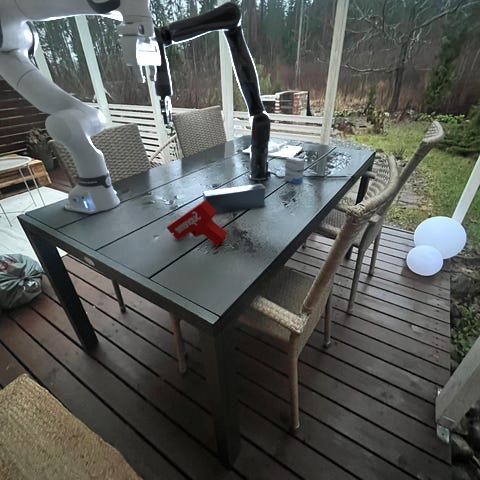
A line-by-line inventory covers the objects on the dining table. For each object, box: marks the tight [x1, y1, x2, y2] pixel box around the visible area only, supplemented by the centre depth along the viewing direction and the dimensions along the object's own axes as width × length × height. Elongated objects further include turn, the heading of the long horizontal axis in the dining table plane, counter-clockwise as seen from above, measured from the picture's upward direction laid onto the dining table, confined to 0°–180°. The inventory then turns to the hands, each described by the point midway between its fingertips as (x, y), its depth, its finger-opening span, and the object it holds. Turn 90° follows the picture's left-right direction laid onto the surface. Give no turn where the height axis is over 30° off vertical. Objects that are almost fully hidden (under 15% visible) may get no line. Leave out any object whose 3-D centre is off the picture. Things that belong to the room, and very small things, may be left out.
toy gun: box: [166, 199, 228, 248], centre depth 93 cm, size 18×4×15 cm
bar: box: [202, 183, 266, 215], centre depth 114 cm, size 25×5×9 cm, turn 109°
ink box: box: [284, 156, 306, 185], centre depth 140 cm, size 8×5×12 cm, turn 47°
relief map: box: [242, 138, 304, 160], centre depth 192 cm, size 27×35×5 cm
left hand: (147, 81), depth 91 cm, fingers open, 8 cm apart
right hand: (168, 122), depth 130 cm, fingers open, 8 cm apart
